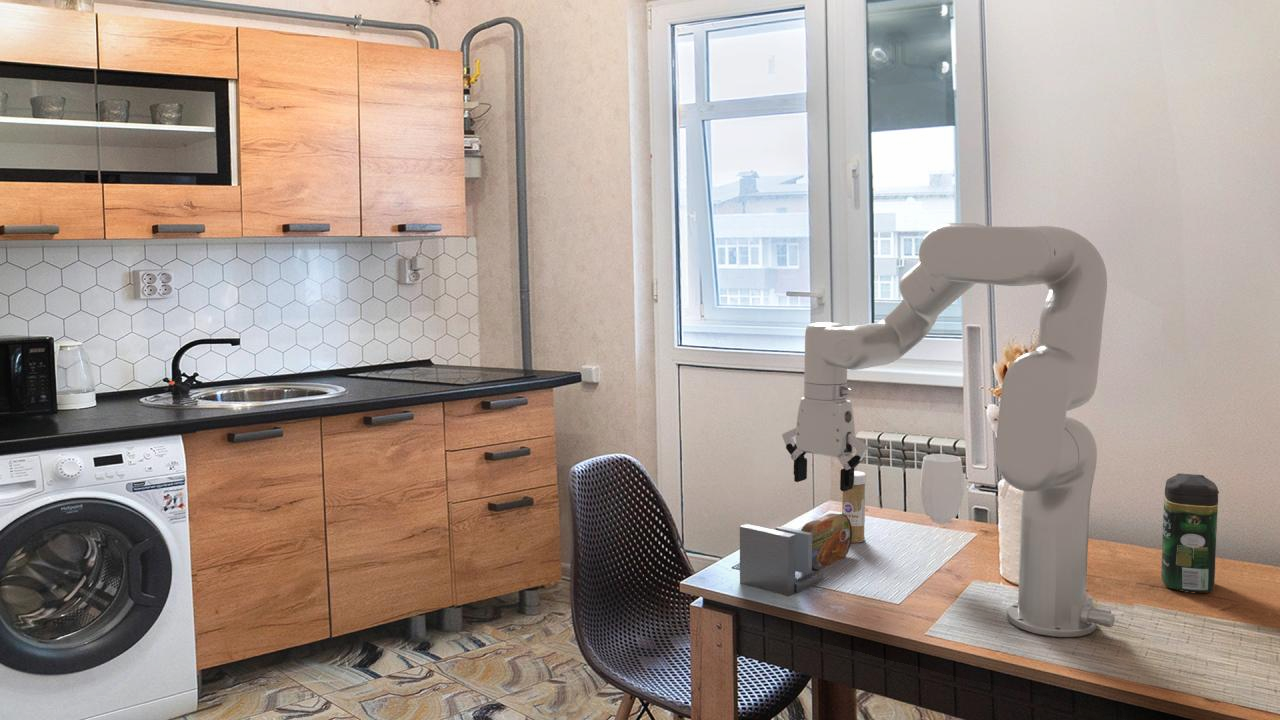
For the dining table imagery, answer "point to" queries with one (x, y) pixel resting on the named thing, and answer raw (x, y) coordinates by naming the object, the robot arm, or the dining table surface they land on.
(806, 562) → the gauge carriage
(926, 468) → the cup
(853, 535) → the sprinkles bottle
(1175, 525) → the coffee jar
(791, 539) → the frame
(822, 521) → the tin
